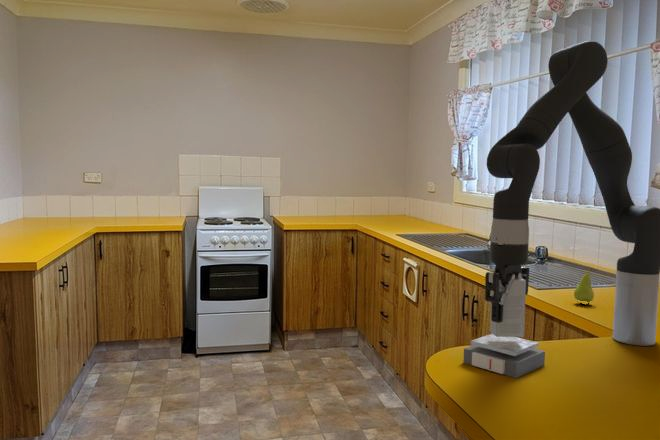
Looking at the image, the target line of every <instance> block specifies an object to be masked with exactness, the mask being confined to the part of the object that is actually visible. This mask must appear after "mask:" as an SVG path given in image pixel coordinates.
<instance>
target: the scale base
mask: <svg viewBox="0 0 660 440" xmlns="http://www.w3.org/2000/svg"><path fill="white" fill-rule="evenodd" d="M545 361H546V351H545V350H542V349H538V348H534V349H531V350H529V351H526V352H524V353H521V354H519V355H516V356H512V355H509V354H505V353H501V352H498V351H494V350H490V349H486V348H483V347H479V346H475V345H471V346H468V347H465V348H463V363H464V364H468V365H471V366H474V367H477V368H481V369H484V370H487V371H490V372H494V373H497V374H501V375H505V376H507V377H510V378H513V379H518V378H520V377H522V376H524V375H526V374H528V373H531V372H532V371H535V370H537V369H538V368H541V367H543V366H545Z"/></svg>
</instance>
